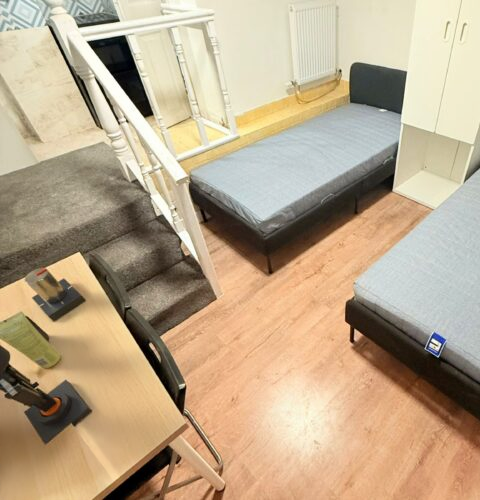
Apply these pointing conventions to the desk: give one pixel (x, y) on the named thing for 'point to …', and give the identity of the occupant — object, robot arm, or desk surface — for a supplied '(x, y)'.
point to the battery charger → (38, 329)
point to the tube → (28, 340)
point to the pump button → (53, 408)
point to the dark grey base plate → (59, 412)
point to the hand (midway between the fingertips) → (49, 405)
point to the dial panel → (61, 302)
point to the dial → (45, 285)
